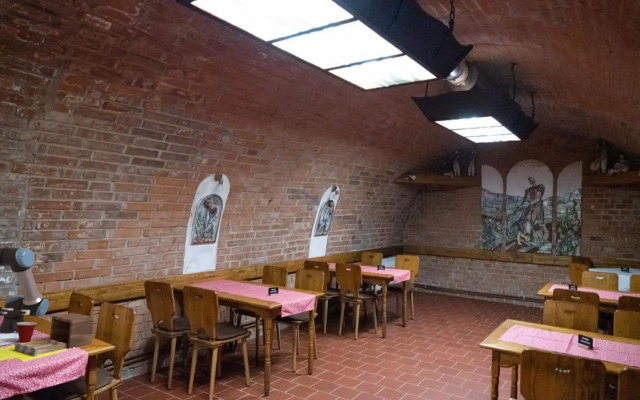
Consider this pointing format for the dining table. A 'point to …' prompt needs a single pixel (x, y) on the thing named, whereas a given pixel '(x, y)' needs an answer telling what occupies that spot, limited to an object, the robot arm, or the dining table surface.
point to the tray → (40, 347)
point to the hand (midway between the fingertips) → (20, 311)
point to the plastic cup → (25, 331)
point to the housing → (72, 329)
